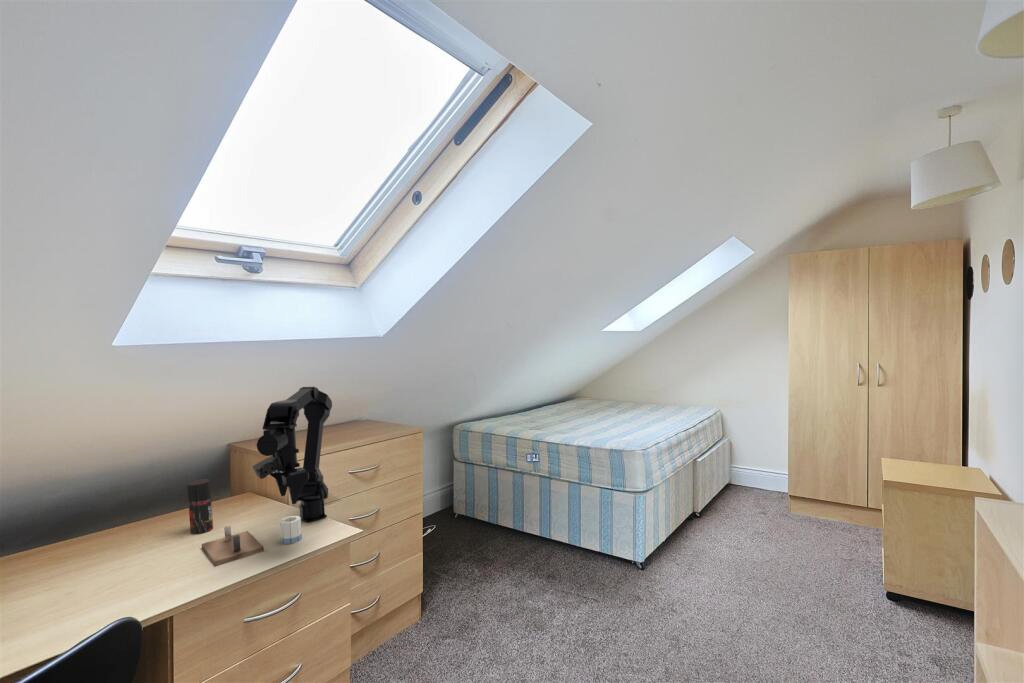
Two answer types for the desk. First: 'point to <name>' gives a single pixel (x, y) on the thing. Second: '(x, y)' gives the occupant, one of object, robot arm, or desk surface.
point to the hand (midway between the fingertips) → (288, 499)
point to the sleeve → (290, 529)
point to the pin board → (231, 547)
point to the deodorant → (200, 506)
